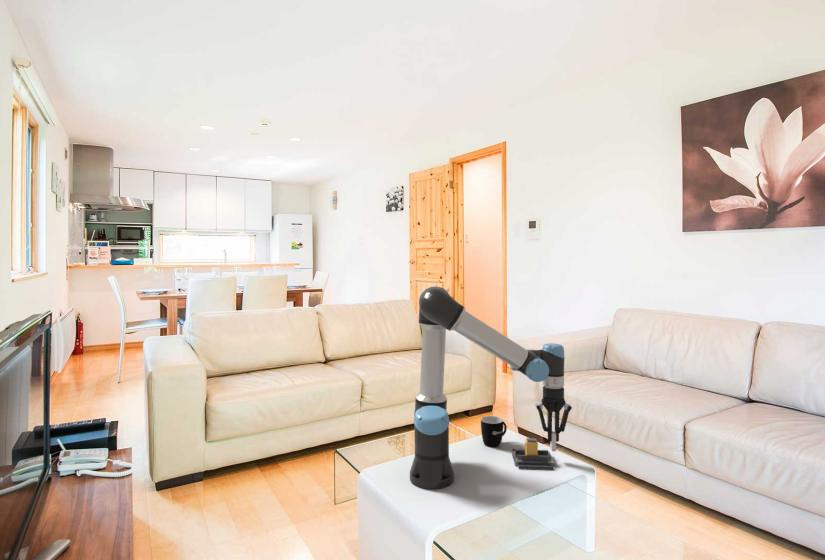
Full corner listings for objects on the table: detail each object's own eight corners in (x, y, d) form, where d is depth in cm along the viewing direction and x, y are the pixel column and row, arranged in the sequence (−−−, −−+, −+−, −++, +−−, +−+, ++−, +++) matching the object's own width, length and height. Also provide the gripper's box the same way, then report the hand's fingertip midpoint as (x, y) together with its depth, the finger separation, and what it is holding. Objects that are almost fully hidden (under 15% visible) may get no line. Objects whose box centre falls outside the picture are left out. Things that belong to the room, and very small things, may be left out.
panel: (515, 466, 170) (515, 458, 170) (512, 454, 180) (512, 447, 180) (555, 467, 169) (555, 459, 169) (549, 455, 179) (549, 448, 179)
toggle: (526, 458, 173) (526, 440, 173) (525, 454, 176) (525, 437, 176) (537, 458, 173) (537, 441, 172) (536, 455, 176) (536, 437, 176)
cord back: (512, 452, 183) (512, 449, 182) (512, 451, 184) (512, 448, 183) (541, 454, 181) (541, 451, 181) (541, 453, 182) (541, 450, 182)
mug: (490, 450, 185) (490, 424, 184) (476, 442, 192) (476, 418, 192) (513, 444, 191) (513, 419, 190) (498, 437, 198) (498, 413, 198)
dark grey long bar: (519, 469, 168) (519, 466, 168) (518, 467, 169) (518, 465, 169) (553, 470, 167) (553, 467, 167) (552, 468, 168) (552, 466, 168)
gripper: (537, 388, 170) (536, 453, 170) (574, 389, 168) (574, 454, 169) (533, 383, 177) (533, 445, 178) (569, 383, 176) (568, 446, 177)
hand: (553, 449), depth 174 cm, fingers closed
